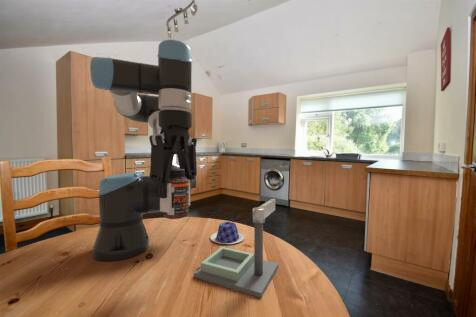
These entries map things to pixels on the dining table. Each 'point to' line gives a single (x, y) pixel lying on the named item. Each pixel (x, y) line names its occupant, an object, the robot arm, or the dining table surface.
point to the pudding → (227, 234)
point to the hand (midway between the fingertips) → (175, 208)
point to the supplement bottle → (178, 194)
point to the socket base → (239, 267)
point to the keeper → (263, 211)
